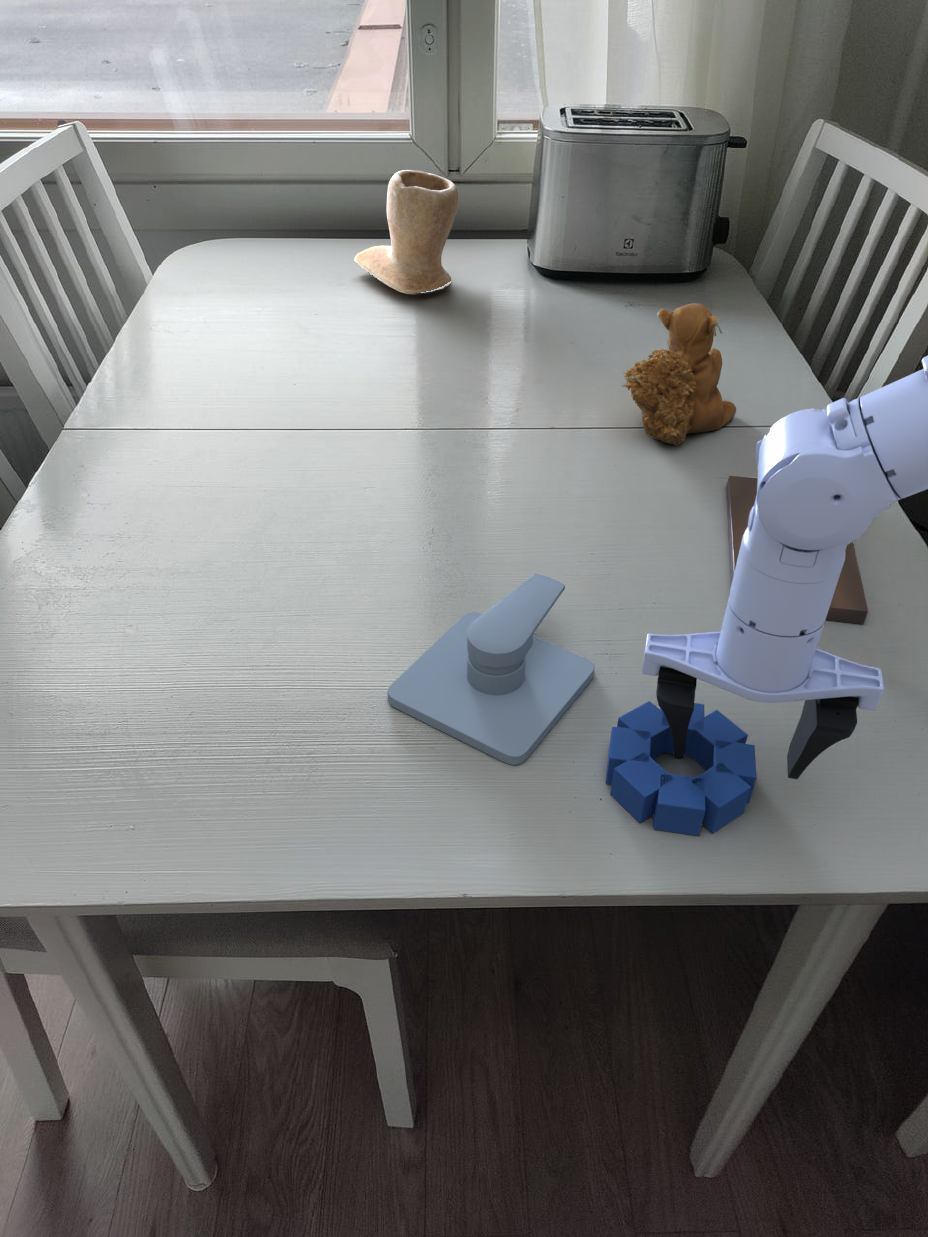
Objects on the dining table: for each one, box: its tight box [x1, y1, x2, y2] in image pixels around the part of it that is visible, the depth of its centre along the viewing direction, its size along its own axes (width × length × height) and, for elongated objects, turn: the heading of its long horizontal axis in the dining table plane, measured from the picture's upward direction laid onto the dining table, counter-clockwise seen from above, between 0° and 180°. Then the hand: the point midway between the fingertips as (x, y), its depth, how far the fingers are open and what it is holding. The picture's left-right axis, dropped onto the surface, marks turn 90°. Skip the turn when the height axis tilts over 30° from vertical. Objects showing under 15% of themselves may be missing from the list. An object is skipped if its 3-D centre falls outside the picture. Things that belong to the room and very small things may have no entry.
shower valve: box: [387, 573, 595, 766], centre depth 75 cm, size 12×6×15 cm
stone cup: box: [353, 169, 459, 295], centre depth 137 cm, size 15×12×15 cm
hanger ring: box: [605, 700, 758, 837], centre depth 68 cm, size 10×10×3 cm
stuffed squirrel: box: [621, 302, 737, 446], centre depth 104 cm, size 10×14×13 cm
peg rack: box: [725, 475, 869, 625], centre depth 89 cm, size 11×20×4 cm, turn 170°
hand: (735, 758), depth 66 cm, fingers open, 7 cm apart
